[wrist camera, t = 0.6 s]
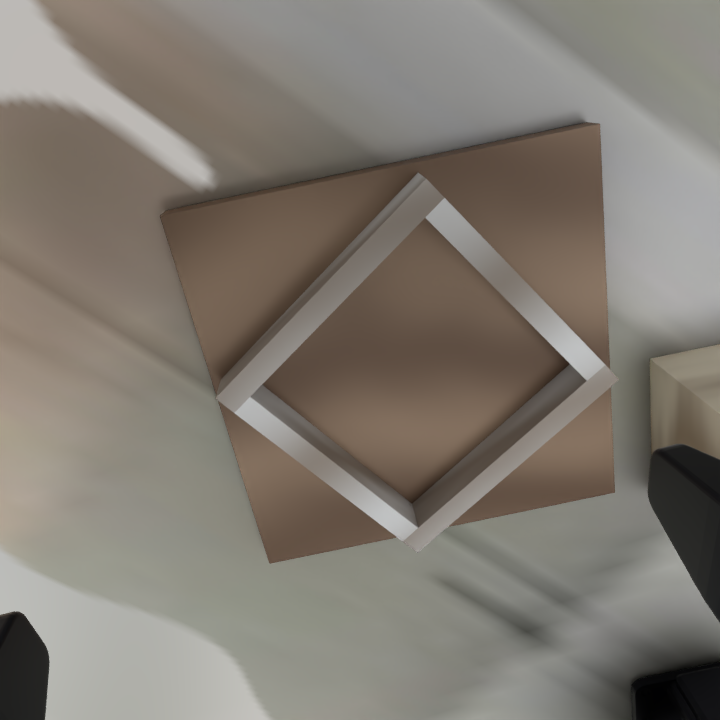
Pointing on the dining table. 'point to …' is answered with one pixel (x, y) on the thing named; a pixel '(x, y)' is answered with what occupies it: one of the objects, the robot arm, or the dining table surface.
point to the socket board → (409, 340)
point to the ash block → (686, 400)
